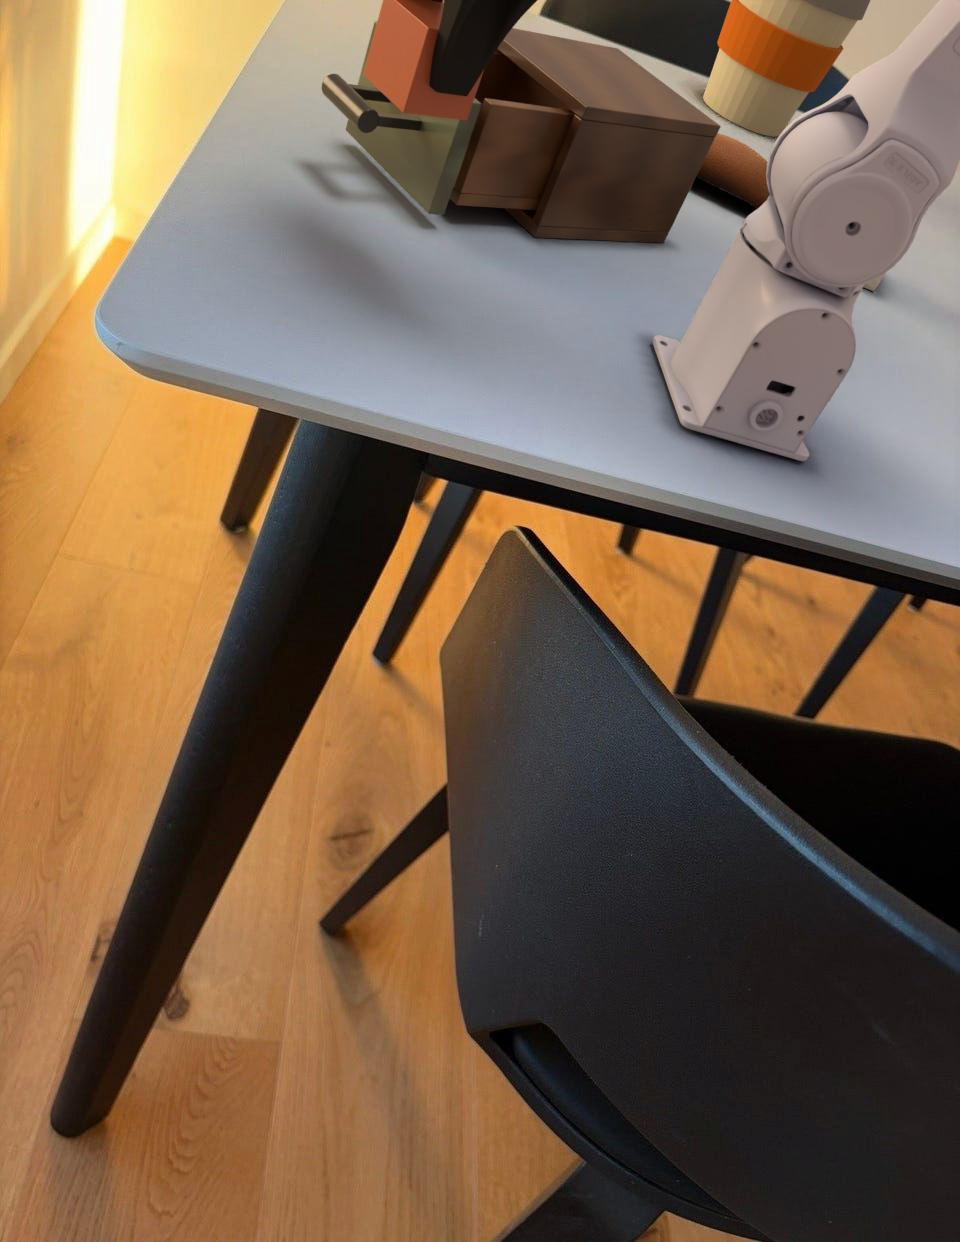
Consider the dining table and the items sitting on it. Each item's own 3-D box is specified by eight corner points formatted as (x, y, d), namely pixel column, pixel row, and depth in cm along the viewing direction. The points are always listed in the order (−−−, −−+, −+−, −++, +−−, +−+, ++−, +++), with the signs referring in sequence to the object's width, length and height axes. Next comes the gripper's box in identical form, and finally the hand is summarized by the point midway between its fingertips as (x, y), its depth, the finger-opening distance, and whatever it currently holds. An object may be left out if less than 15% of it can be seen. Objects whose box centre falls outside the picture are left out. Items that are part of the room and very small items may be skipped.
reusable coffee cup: (735, 136, 108) (817, -29, 98) (664, 77, 114) (735, -82, 105) (819, 152, 115) (903, 0, 105) (747, 96, 122) (820, -51, 112)
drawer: (365, 210, 64) (400, 92, 59) (283, 123, 69) (310, 8, 64) (566, 221, 73) (609, 121, 69) (482, 144, 78) (517, 46, 74)
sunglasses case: (771, 191, 97) (803, 136, 90) (744, 250, 94) (776, 197, 88) (586, 100, 97) (605, 39, 90) (554, 157, 94) (572, 98, 88)
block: (467, 120, 56) (494, 39, 53) (403, 113, 54) (428, 27, 51) (426, 84, 58) (450, 3, 55) (362, 75, 55) (385, -10, 53)
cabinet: (534, 237, 72) (587, 106, 67) (441, 149, 77) (483, 21, 72) (664, 243, 80) (721, 126, 74) (571, 162, 85) (617, 48, 80)
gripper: (357, -343, 47) (285, -7, 56) (553, -230, 40) (436, 133, 49) (484, -290, 52) (399, 14, 60) (680, -180, 45) (552, 146, 53)
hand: (423, 69), depth 55 cm, fingers closed on block, 4 cm apart
